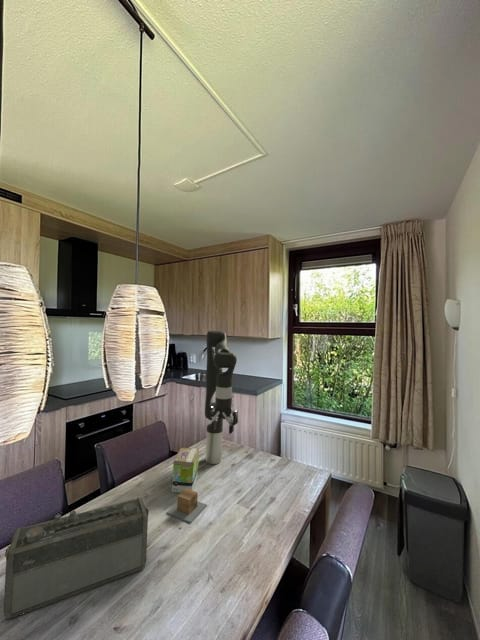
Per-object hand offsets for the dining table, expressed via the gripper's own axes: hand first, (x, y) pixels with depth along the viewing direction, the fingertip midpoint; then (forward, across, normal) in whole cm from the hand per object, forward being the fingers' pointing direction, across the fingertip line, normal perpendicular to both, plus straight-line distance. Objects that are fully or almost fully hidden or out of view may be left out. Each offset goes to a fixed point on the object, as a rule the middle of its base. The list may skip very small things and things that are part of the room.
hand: (222, 431), depth 128 cm
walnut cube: (+30, +8, +14) cm, 34 cm away
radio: (+30, +19, +54) cm, 65 cm away
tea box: (+30, +20, -1) cm, 36 cm away
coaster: (+30, +8, +14) cm, 34 cm away
